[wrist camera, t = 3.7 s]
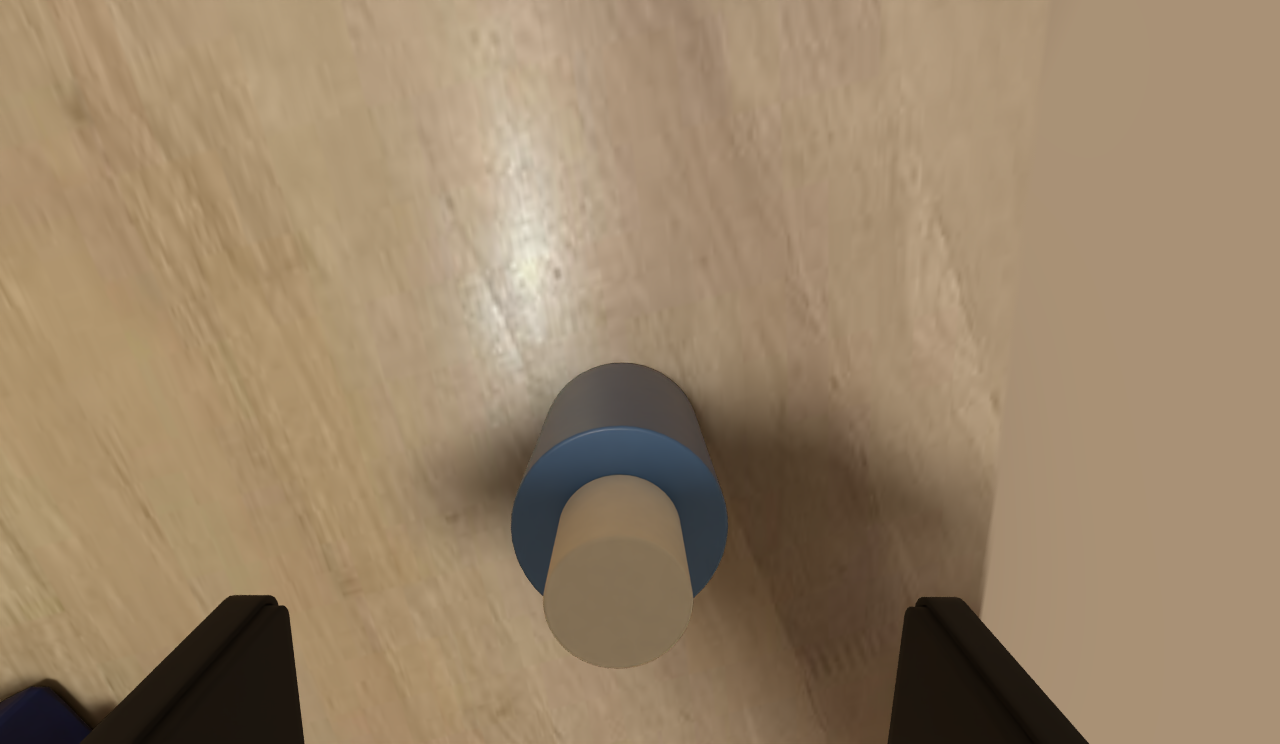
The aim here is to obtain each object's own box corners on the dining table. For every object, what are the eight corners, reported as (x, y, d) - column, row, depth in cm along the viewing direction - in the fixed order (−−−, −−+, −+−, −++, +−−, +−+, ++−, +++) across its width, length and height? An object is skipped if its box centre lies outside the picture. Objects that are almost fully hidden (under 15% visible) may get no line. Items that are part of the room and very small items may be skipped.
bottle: (701, 363, 21) (761, 480, 12) (695, 509, 22) (744, 720, 13) (543, 361, 21) (477, 477, 12) (545, 508, 22) (486, 720, 13)
